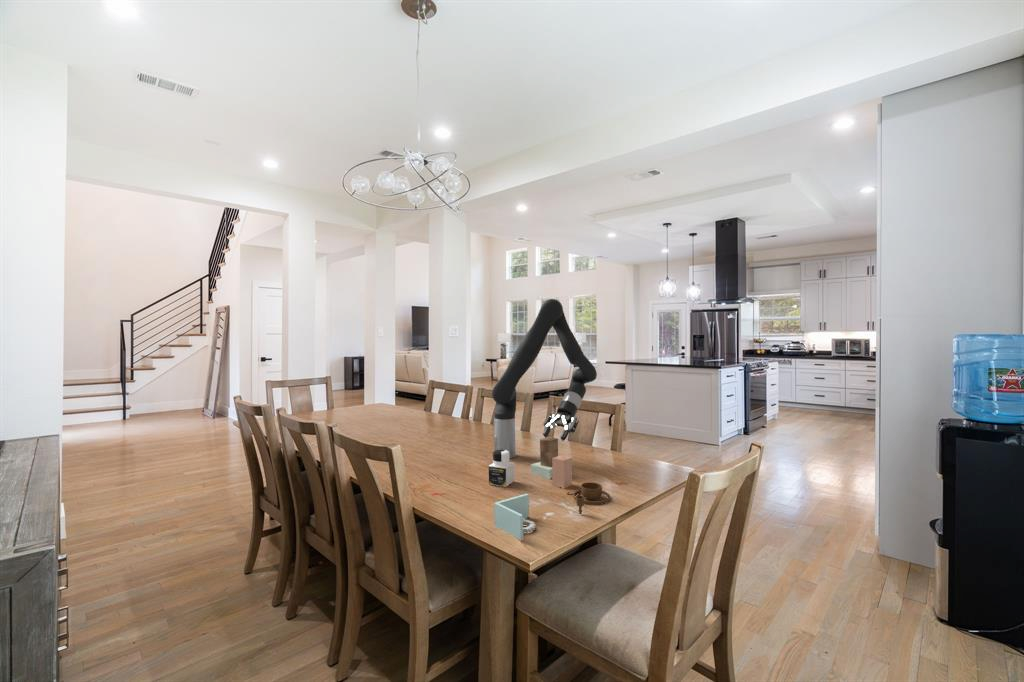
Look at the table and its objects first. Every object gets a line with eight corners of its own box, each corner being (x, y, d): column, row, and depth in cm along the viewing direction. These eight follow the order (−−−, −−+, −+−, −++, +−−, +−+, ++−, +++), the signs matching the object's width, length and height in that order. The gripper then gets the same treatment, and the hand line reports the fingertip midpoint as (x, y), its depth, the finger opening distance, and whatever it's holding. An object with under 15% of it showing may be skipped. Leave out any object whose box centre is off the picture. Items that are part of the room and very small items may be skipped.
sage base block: (530, 474, 182) (530, 464, 182) (548, 469, 189) (548, 459, 189) (549, 480, 175) (549, 469, 175) (567, 474, 181) (567, 464, 181)
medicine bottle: (488, 484, 169) (487, 452, 169) (497, 479, 176) (497, 447, 176) (506, 487, 166) (505, 454, 166) (514, 481, 173) (514, 449, 172)
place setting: (624, 503, 151) (624, 485, 151) (581, 519, 139) (581, 499, 139) (585, 489, 165) (584, 472, 165) (542, 502, 153) (542, 485, 153)
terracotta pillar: (552, 485, 167) (552, 458, 167) (560, 482, 171) (560, 455, 171) (563, 488, 164) (563, 460, 164) (572, 485, 168) (571, 457, 168)
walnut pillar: (540, 465, 181) (539, 439, 181) (548, 462, 185) (547, 437, 185) (551, 467, 178) (550, 441, 178) (558, 464, 182) (557, 438, 181)
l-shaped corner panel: (520, 543, 124) (520, 515, 123) (494, 528, 133) (494, 502, 133) (553, 531, 131) (553, 505, 131) (526, 518, 140) (526, 493, 140)
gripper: (551, 397, 195) (534, 429, 186) (580, 401, 185) (564, 435, 177) (559, 408, 199) (543, 440, 191) (587, 412, 189) (572, 446, 181)
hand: (553, 437), depth 184 cm, fingers open, 8 cm apart
